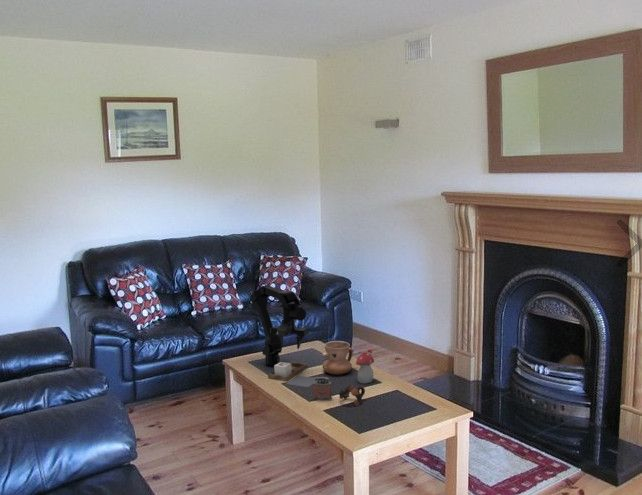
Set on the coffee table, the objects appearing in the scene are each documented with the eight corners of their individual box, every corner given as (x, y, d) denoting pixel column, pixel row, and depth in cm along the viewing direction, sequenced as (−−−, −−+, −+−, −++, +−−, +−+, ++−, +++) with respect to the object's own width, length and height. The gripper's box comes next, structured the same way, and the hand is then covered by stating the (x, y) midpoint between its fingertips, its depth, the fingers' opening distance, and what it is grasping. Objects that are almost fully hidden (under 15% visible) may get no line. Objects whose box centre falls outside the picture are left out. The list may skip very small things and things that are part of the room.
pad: (285, 384, 283) (285, 383, 283) (298, 376, 294) (297, 375, 294) (308, 388, 278) (308, 387, 278) (319, 379, 288) (319, 378, 288)
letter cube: (274, 377, 292) (274, 365, 291) (281, 373, 297) (280, 361, 296) (285, 379, 289) (285, 366, 288) (291, 375, 294) (291, 363, 294)
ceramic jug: (331, 379, 288) (331, 351, 286) (314, 371, 300) (314, 343, 298) (361, 372, 298) (361, 344, 296) (344, 364, 309) (344, 337, 307)
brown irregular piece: (352, 410, 253) (342, 392, 254) (342, 412, 261) (333, 395, 262) (373, 396, 259) (363, 379, 260) (362, 399, 267) (353, 382, 268)
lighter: (332, 397, 266) (331, 375, 264) (331, 400, 262) (330, 378, 261) (314, 397, 267) (313, 375, 265) (313, 400, 263) (312, 378, 262)
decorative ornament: (372, 377, 289) (371, 347, 287) (377, 382, 282) (376, 351, 280) (353, 380, 286) (353, 350, 284) (358, 385, 280) (358, 354, 278)
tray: (268, 379, 291) (268, 374, 290) (289, 366, 309) (289, 361, 308) (287, 382, 286) (287, 377, 286) (307, 368, 304) (307, 364, 304)
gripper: (263, 319, 292) (265, 350, 294) (298, 322, 284) (299, 354, 286) (275, 314, 302) (276, 344, 304) (308, 317, 294) (309, 348, 296)
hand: (289, 347), depth 298 cm, fingers open, 9 cm apart
